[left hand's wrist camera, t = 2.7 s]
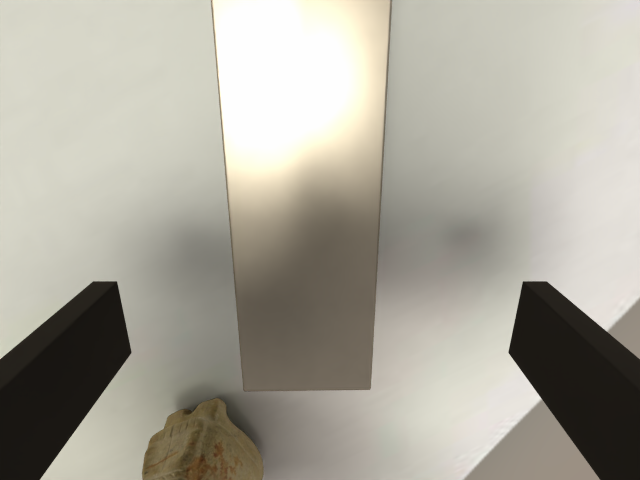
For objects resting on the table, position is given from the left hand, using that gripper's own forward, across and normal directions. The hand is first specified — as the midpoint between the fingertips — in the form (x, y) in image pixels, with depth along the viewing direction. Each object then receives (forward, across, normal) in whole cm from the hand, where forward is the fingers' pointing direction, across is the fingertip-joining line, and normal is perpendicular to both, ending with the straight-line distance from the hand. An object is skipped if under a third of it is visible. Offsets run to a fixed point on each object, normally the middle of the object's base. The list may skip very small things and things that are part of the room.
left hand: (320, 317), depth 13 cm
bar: (+9, +1, -8) cm, 11 cm away
